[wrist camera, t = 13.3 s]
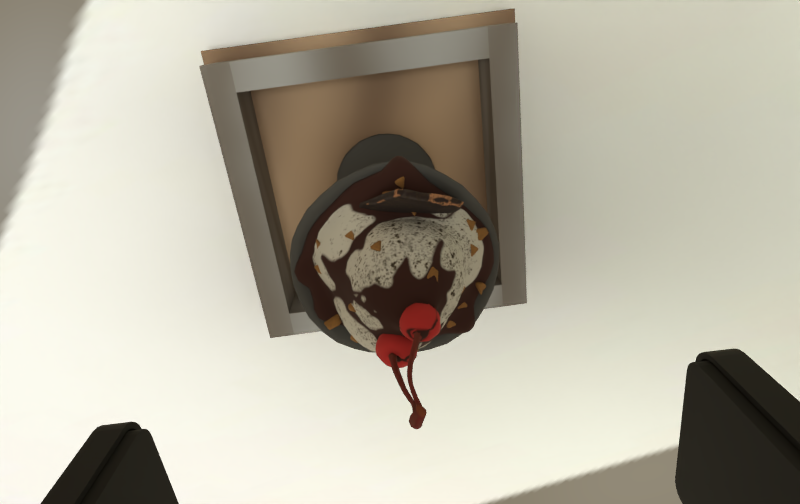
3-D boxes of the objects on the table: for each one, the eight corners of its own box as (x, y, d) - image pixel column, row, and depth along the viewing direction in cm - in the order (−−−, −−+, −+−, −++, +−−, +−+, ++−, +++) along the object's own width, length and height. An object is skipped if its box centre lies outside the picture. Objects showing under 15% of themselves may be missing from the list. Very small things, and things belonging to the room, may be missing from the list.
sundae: (385, 271, 28) (399, 507, 14) (291, 180, 26) (197, 353, 12) (481, 188, 26) (605, 359, 12) (390, 85, 24) (417, 153, 10)
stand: (507, 9, 24) (530, 5, 21) (518, 279, 30) (537, 311, 26) (208, 50, 24) (181, 53, 21) (274, 312, 30) (261, 348, 26)
